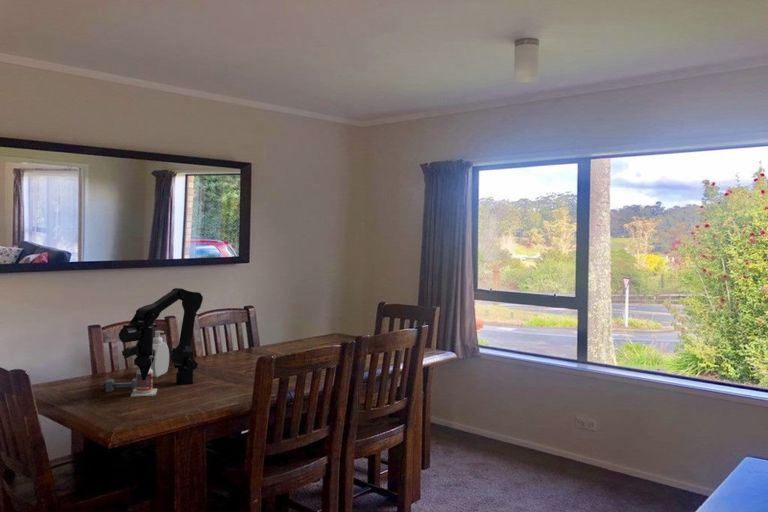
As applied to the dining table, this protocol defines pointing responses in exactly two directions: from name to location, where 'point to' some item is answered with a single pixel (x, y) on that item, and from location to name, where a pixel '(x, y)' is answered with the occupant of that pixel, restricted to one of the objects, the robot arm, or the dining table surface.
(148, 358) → the robot arm
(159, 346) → the soap bottle
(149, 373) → the pill bottle
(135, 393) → the coaster
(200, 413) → the dining table surface
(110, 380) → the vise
